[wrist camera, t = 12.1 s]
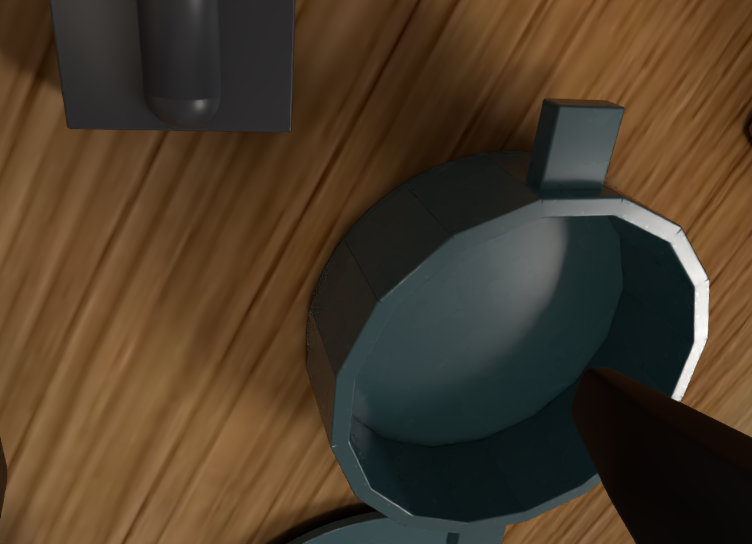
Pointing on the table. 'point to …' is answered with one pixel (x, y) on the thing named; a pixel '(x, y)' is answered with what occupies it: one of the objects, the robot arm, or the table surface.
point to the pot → (497, 327)
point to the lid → (369, 532)
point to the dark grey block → (176, 64)
